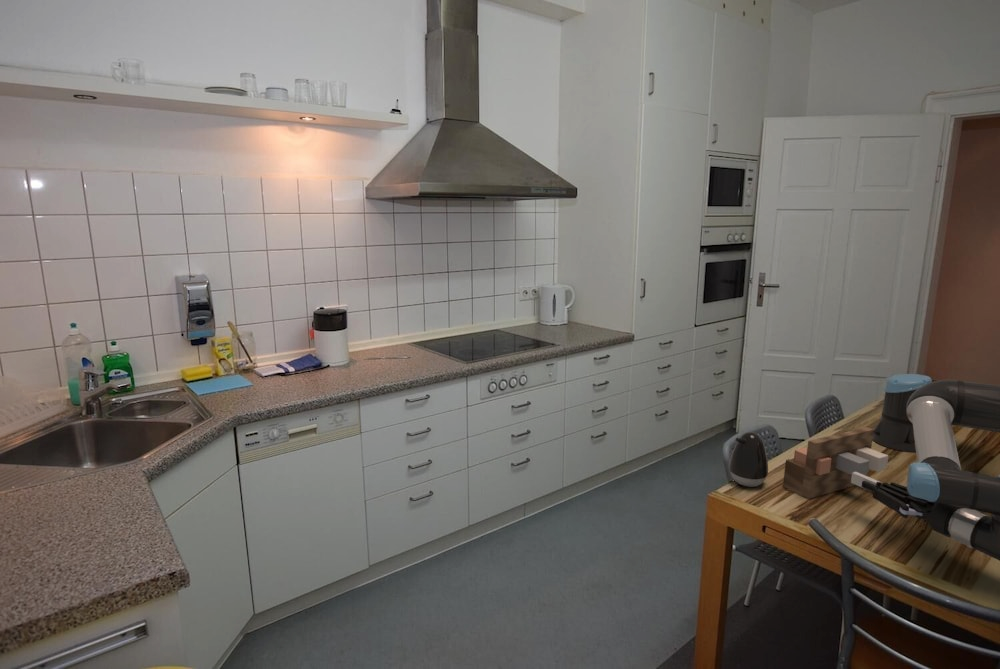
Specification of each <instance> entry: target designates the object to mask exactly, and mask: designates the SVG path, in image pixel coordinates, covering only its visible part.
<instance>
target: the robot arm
mask: <svg viewBox="0 0 1000 669" xmlns="http://www.w3.org/2000/svg"><path fill="white" fill-rule="evenodd" d="M882 404H883V405H882V410H881V414H880V415H881V416H880V418H879V420H878V422H877V423H876V425H875V427H874V428H873V429H874V433H873V439H872V442H875V443H876V444H878V445H880V446H883V447H885V448H888V449H892V450H897V451H902V452H909V453H910V452H911V453H915V454H916V455H915V456H916V462H915V461H914V462H912V463H911V462H910V464H909V468H908V470H907V471H908V472H907V476H906V477H907V480H906V486H905V485H902V484H900V483H896V482H890V483H888V482H882V481H879V480H877V479H875V478H872V477H870V476H868V475H867V476H865V475H863V474H860V473H858V472H853V473H852V477H851V483H853V484H855V486H857V487H860V488H863V490H867V491H869V492H871V493H872V499H874V500H876V501H877V502H879V503H881V504H883V505H885V506H886V507H887V508H889V509H890V510H893V511H894V512H896V513H897V514H898V515H899V516H901V517H902V518H904V519H907V518H909V517H908V516H914V517H915V518H917V519H920V520H924V521H926V522H927V523H928V525H929V528H930V529H931V530H932V531H935V532H936V533H939V534H940V535H943V536H945V537H947V538H951V539H953V540H954V541H956V542H959V543H960V544H963V545H965V546H967V548H969V549H974V550H976V551H978V552H980V553H982V554H984V555H987V556H989V557H992V558H993V559H995V560H998V561H1000V474H999V475H998V476H995V475H988V474H983V473H978V472H971V471H967V470H962V467H961V461H960V459H959V453H958V449H957V445H956V444H957V443H956V440H955V435H954V430H953V426H954V427H955V426H956V427H962V428H967V429H968V428H970V429H976V430H982V431H989V432H995V433H1000V385H997V384H989V383H988V384H987V383H983V382H982V383H981V382H972V381H966V380H956V379H940V380H935V381H933V380H932V378H931V377H930V376H928V375H925V374H917V373H900V374H899V373H898V374H894V375H892V376H890V377H888V378H887V380H886V385H885V388H884V398H883V403H882ZM982 512H983V513H982ZM984 513H986V514H984ZM987 514H989V515H990V514H991V516H988V515H987Z"/></svg>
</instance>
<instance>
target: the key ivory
mask: <svg viewBox="0 0 1000 669" xmlns="http://www.w3.org/2000/svg"><path fill="white" fill-rule="evenodd" d="M856 456H859V457H861V458H864V459H866V460H869V468H868V470H871V471H873V472H876V473H879V472H882V471H885V470H887V469H888V463H889V455H888V454H885V453H883V452H880V451H878V450H875V449H872V448H871V449H870V448H867V447H860V448H857V449H856Z"/></svg>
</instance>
